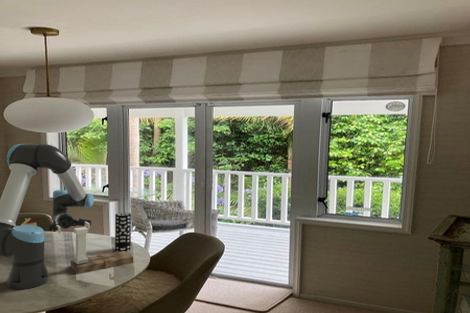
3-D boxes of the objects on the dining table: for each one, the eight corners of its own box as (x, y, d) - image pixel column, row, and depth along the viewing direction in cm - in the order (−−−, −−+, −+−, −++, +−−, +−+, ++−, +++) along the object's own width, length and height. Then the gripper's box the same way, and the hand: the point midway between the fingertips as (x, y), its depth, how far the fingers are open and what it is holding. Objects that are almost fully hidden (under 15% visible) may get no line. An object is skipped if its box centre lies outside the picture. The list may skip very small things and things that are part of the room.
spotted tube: (111, 250, 192) (112, 214, 192) (123, 246, 200) (123, 212, 199) (122, 252, 188) (123, 216, 188) (133, 249, 196) (134, 213, 195)
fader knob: (76, 264, 159) (77, 230, 159) (73, 260, 164) (73, 228, 163) (88, 262, 162) (88, 229, 162) (84, 258, 167) (84, 226, 166)
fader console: (77, 274, 156) (77, 266, 156) (70, 266, 166) (70, 259, 166) (133, 262, 172) (133, 256, 172) (123, 256, 182) (124, 250, 182)
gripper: (88, 224, 198) (100, 232, 182) (38, 230, 182) (47, 239, 166) (88, 211, 198) (100, 217, 181) (38, 216, 182) (47, 224, 166)
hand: (74, 228), depth 174 cm, fingers open, 13 cm apart
